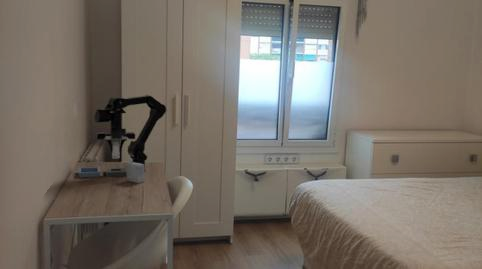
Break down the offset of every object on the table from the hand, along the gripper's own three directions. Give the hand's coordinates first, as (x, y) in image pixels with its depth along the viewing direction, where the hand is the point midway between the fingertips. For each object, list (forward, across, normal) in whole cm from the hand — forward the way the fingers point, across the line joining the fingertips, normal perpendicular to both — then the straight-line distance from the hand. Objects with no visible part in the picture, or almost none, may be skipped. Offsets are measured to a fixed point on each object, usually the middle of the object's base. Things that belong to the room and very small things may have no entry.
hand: (115, 152), depth 226 cm
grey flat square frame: (+11, 0, 0) cm, 11 cm away
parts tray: (+11, -13, 0) cm, 17 cm away
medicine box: (+12, +8, -17) cm, 22 cm away
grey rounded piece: (+3, 0, 0) cm, 3 cm away
